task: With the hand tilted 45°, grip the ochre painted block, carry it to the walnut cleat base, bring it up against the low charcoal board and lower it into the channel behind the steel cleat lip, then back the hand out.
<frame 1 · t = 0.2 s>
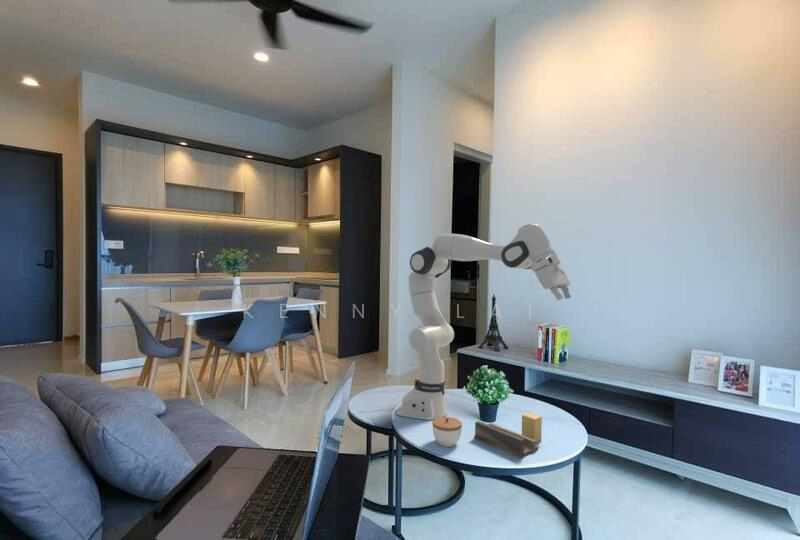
hand: (564, 298, 142), 54 cm above the table, tool tilted 30°, fingers open, 8 cm apart
cleat base: (505, 443, 148), on the table
ochre block: (531, 439, 152), on the table
lidded jar: (446, 443, 148), on the table
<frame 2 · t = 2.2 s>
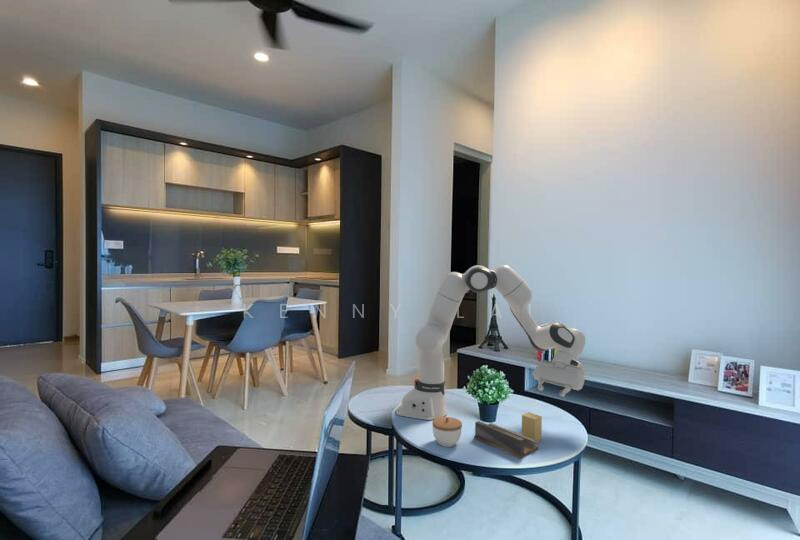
hand: (550, 392, 160), 15 cm above the table, tool tilted 45°, fingers open, 8 cm apart
nothing on the table moved.
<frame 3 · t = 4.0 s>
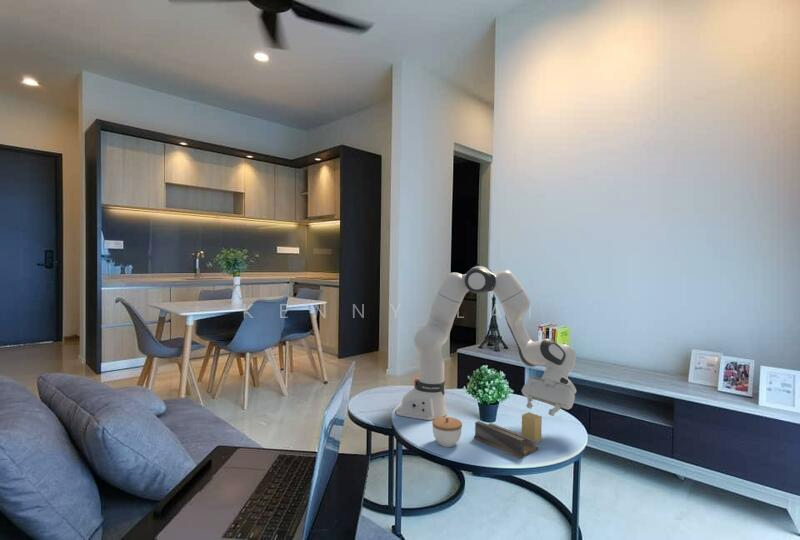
hand: (539, 411, 155), 10 cm above the table, tool tilted 45°, fingers open, 8 cm apart
nothing on the table moved.
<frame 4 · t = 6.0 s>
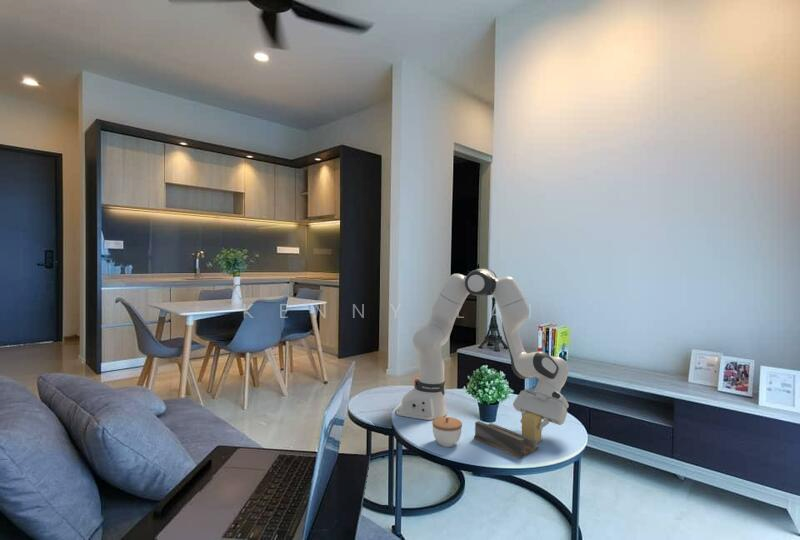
hand: (530, 426, 152), 5 cm above the table, tool tilted 45°, fingers closed on ochre block, 5 cm apart
ochre block: (531, 439, 152), on the table, touching gripper
everything else where it was.
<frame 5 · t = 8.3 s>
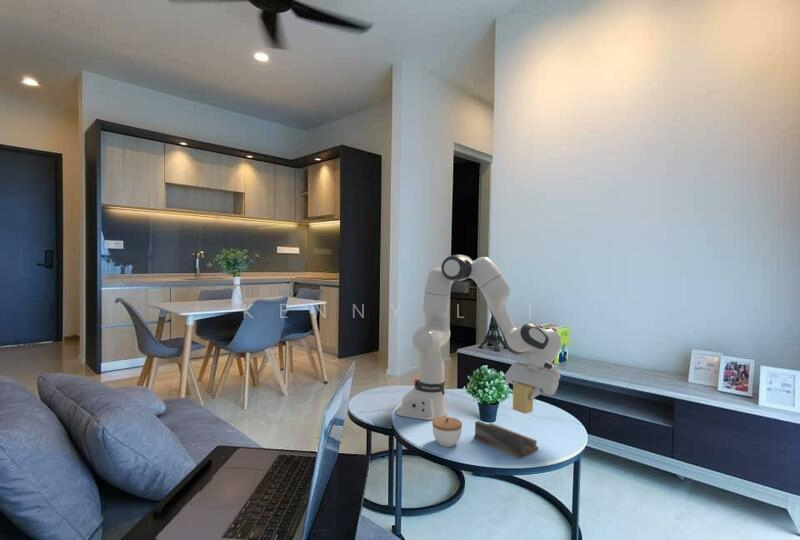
hand: (522, 396, 150), 17 cm above the table, tool tilted 45°, fingers closed on ochre block, 5 cm apart
ochre block: (522, 410, 151), point 11 cm above the table, touching gripper
everything else where it was.
when the fingers open (7 cm above the table, at t = 10.9 s): ochre block stays where it is, resting on cleat base.
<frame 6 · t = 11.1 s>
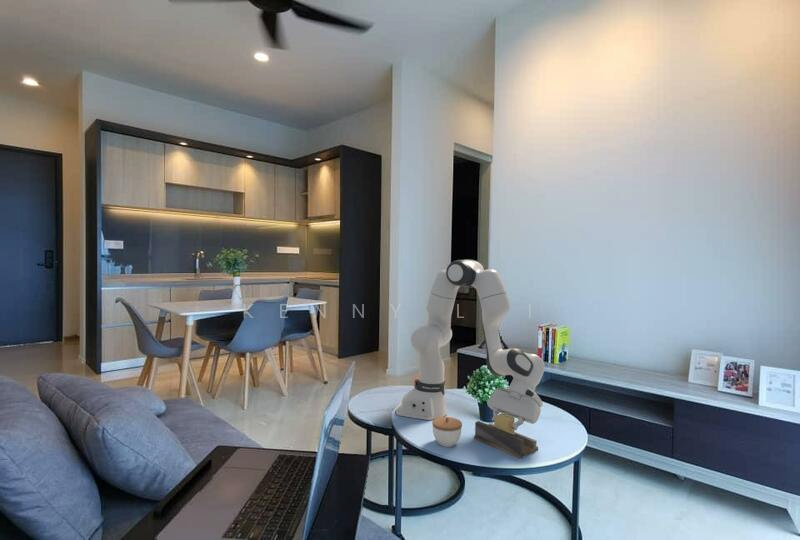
hand: (503, 425, 147), 7 cm above the table, tool tilted 45°, fingers open, 7 cm apart
ochre block: (504, 441, 148), point 1 cm above the table, touching cleat base
everything else where it was.
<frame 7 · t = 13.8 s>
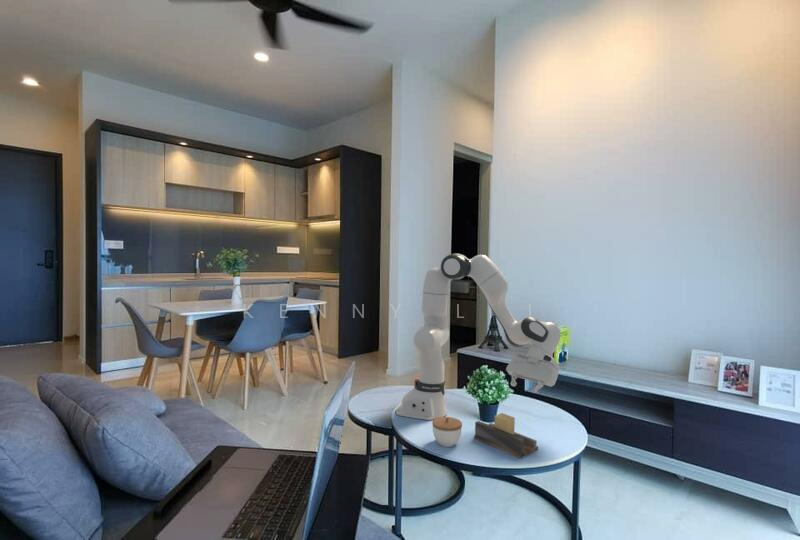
hand: (522, 388, 156), 18 cm above the table, tool tilted 45°, fingers open, 8 cm apart
nothing on the table moved.
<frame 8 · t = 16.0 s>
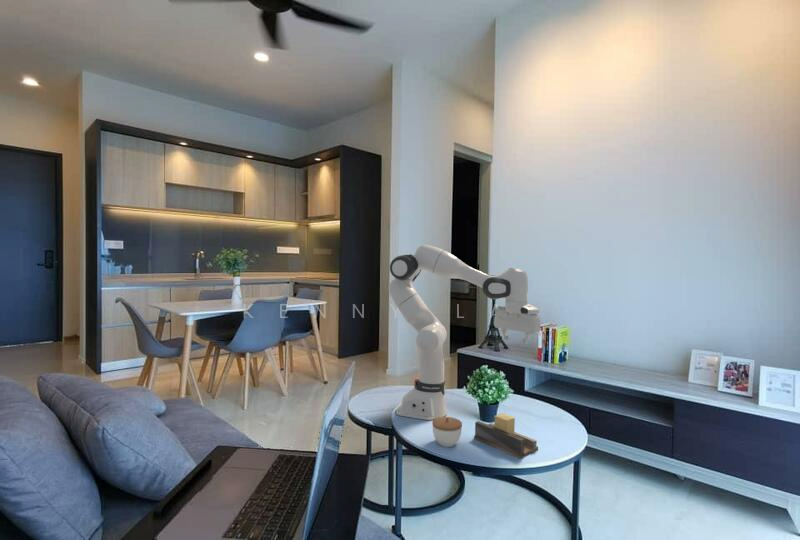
hand: (515, 341, 166), 34 cm above the table, tool pointing down, fingers open, 8 cm apart
nothing on the table moved.
at the end: ochre block 0.5 cm off-centre on the cleat base, point 1.0 cm above the cleat base's base; ochre block tilted 0°; the gripper is holding nothing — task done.
